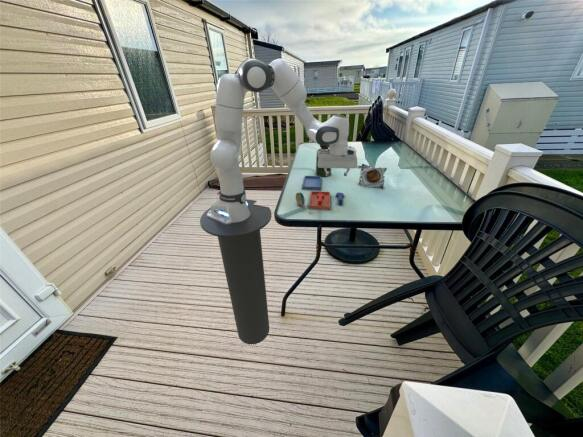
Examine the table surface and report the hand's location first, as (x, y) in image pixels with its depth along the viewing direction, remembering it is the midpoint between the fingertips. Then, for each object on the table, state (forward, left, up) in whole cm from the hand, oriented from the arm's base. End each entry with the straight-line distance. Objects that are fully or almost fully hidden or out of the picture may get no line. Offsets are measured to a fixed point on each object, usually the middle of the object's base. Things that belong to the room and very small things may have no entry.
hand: (336, 175), depth 129 cm
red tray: (-8, -2, -16) cm, 18 cm away
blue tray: (-20, +20, -16) cm, 32 cm away
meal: (+16, +30, -16) cm, 38 cm away
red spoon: (-7, -3, -15) cm, 17 cm away
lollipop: (-14, -13, -13) cm, 23 cm away
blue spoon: (+3, +3, -16) cm, 16 cm away
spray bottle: (-18, +39, -16) cm, 45 cm away
